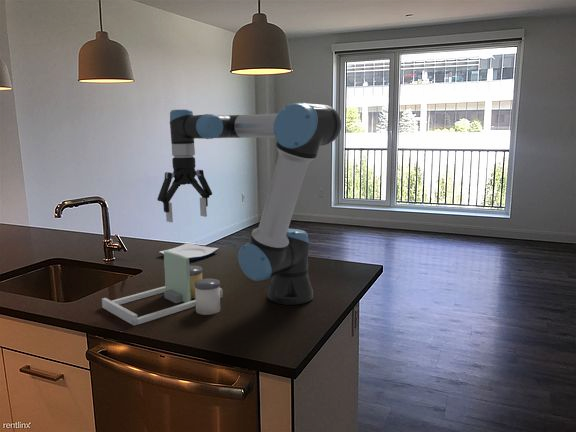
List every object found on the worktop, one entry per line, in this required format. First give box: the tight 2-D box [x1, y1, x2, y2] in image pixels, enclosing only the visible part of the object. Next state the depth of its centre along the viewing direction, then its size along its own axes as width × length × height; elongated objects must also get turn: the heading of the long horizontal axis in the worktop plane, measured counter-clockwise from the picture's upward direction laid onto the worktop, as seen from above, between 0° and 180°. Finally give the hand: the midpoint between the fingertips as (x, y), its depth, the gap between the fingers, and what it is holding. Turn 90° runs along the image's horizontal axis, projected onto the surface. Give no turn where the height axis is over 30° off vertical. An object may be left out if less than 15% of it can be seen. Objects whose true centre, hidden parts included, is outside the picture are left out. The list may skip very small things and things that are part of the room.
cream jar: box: [194, 278, 221, 316], centre depth 148 cm, size 8×8×9 cm
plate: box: [158, 242, 220, 262], centre depth 212 cm, size 20×20×3 cm
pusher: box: [163, 250, 192, 304], centre depth 157 cm, size 13×4×15 cm, turn 46°
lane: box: [101, 285, 224, 326], centre depth 155 cm, size 20×32×3 cm, turn 136°
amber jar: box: [189, 265, 203, 300], centre depth 162 cm, size 8×8×9 cm
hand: (187, 219), depth 165 cm, fingers open, 13 cm apart
